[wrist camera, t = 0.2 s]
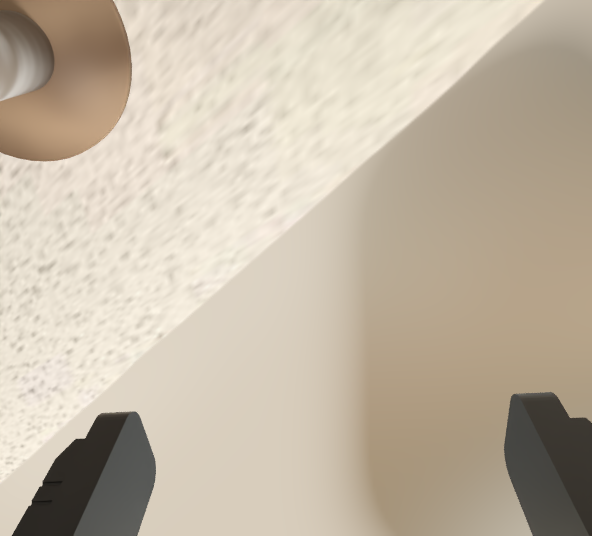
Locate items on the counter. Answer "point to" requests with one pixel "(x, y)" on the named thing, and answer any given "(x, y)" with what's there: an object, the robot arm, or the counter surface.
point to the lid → (60, 76)
